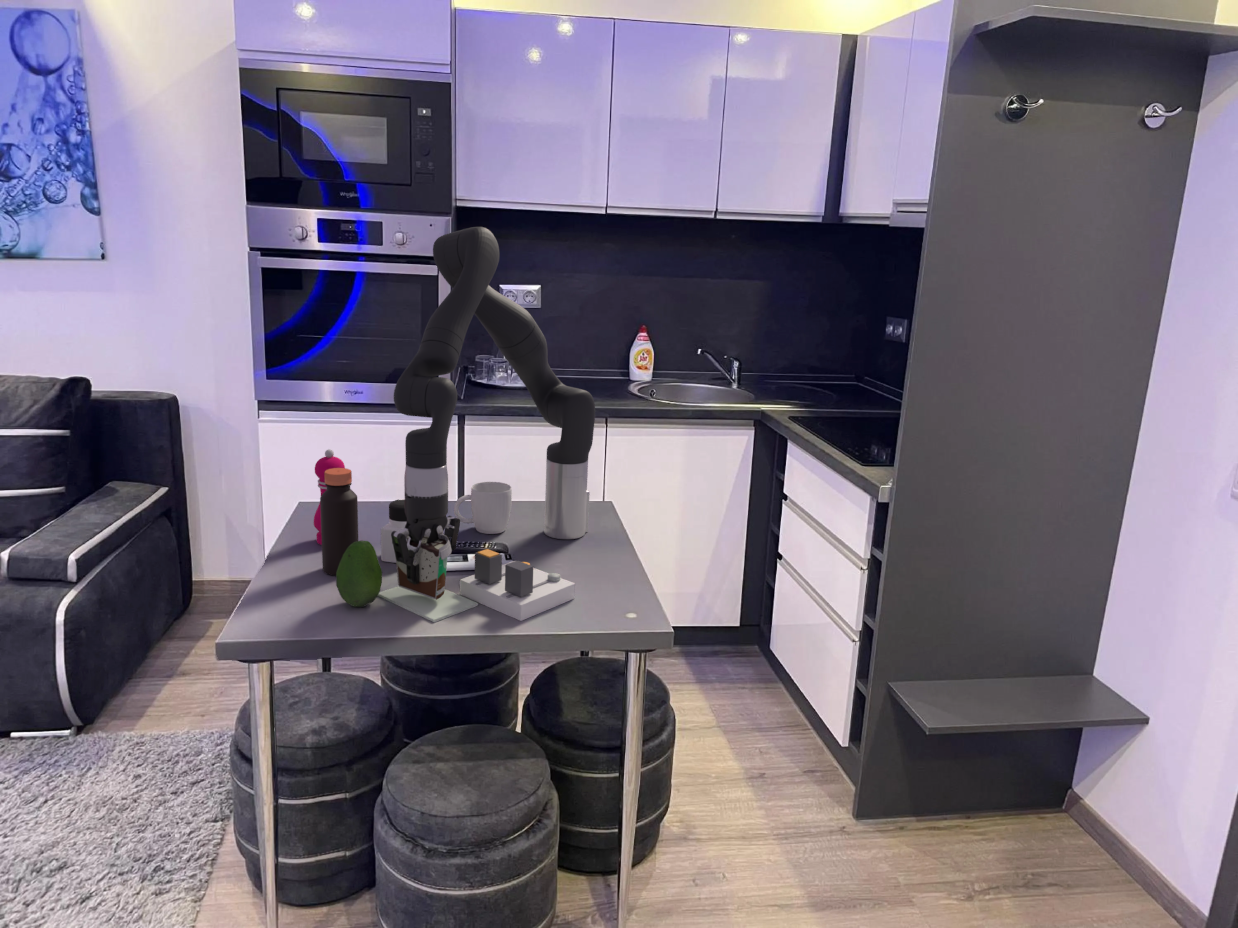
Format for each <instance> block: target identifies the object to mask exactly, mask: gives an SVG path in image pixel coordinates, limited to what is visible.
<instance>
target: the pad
mask: <svg viewBox="0 0 1238 928" xmlns="http://www.w3.org/2000/svg"><path fill="white" fill-rule="evenodd" d="M377 597H379V598H381V599H384V600H385V601H388V602H390V603H392V604H394V605H396V606H399V607H401V608H403V609H405V610H406V611H409V612H411V613H413V614H415V615H417V616H419V617H422V618H424V619H426V620H428V621H430V622H432V623H437V622H439V621H442V620H445V619H447V618H450V617H452V616H454V615H457V614H458V615H459V614H460V613H463V612H465V611H467V610H471V609H473V608H476V607H478V605H479V603H478V602H476V601H473V600H471V599H469V598H467V597H464V596H462V595H460V594H457V593H455V592H453V591H450V590H448V589H445V591H444V594H443V595H442V596H441V597H440V598H439V599H437V600H435V599H432V598H430V597H427V596H424V595H421V594H418V593H416V592H413V591H410V590H407V589H404V588H401V587H399V586H398V585H397V586H395V587H391V588H389V589H386V590H383V591H380V592H379V594H378V595H377Z"/></svg>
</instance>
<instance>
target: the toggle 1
mask: <svg viewBox="0 0 1238 928" xmlns="http://www.w3.org/2000/svg"><path fill="white" fill-rule="evenodd" d="M502 565H503V554H501V553H499V552H496V551H495V550H491V549H488V548H487V549H483V550H479V551H477V552H474V575H475V579H477V580H480V581H482V582H484V583H487V584H489V585H490V584H492V583H495V582H498V581H501V580H502Z"/></svg>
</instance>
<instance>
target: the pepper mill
mask: <svg viewBox="0 0 1238 928" xmlns="http://www.w3.org/2000/svg"><path fill="white" fill-rule="evenodd" d="M332 468H346V466H345V463H344V461H343V460H342V459H341V458H339V457H337V456H335V453H334V450H333V449H329V448H328V449H326V450H325V451H324V456H322V457H321V458H320V459H318V460H317V461H316V463H315V465H314V474H315V476H316V477H317V478H318V480H317V487H318V488H319V491H320V496H321V495H322V494H323V493H324V492H325V491H326V490H327V486H326V485H325V474H324V472H325V471H326V470H328V469H332ZM313 516H314V517H313V526H314V528H315V529H316V531H317V533H316V543H317V544H318V545H320V546H322V536H321V509H320V502H319V504H318V506H317V508H316V511H315V513H314V515H313Z"/></svg>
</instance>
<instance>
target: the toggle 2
mask: <svg viewBox="0 0 1238 928" xmlns="http://www.w3.org/2000/svg"><path fill="white" fill-rule="evenodd" d="M514 561H515V562H512V561H511V562H512V563H509V562H508V563H509V564H506V563H505V564H506V565H505V591H507V592H509V593H511V594H514V595H516V596H519V597H523V596H525V595H528V594H530V593H533V568H534V566H533V565H531V564H530V565H528V564H526V563H523V562H524V561H519V560H514Z"/></svg>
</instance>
